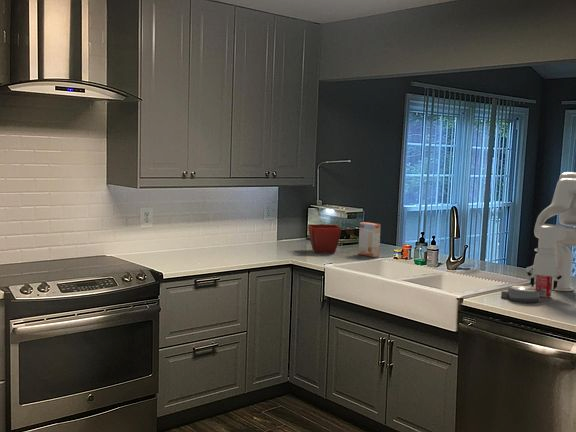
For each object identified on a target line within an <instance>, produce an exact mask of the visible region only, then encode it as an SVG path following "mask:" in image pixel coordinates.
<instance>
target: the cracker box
mask: <svg viewBox="0 0 576 432" xmlns="http://www.w3.org/2000/svg"><path fill="white" fill-rule="evenodd" d="M381 230H382V229H381V224H380V223H373V222H368V221H367V222H366V221H364V222H363V221H362V222H361V221H360V222H359V233H358V235H359V236H358V252H357V254H358V255H361V256H365V257H370V258H379V257H380V245H381Z"/></svg>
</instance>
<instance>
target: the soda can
mask: <svg viewBox="0 0 576 432" xmlns="http://www.w3.org/2000/svg"><path fill="white" fill-rule="evenodd" d="M535 277H536V281H535V288H536V289H538V290H540V298H544V299H545V298H546V299H547V298H549V297H551V296H552V291H553V290H552V277H548V276H545V275H536V276H535Z"/></svg>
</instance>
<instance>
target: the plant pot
mask: <svg viewBox="0 0 576 432" xmlns="http://www.w3.org/2000/svg"><path fill="white" fill-rule="evenodd" d="M307 227H308V236H309V239H310V240H309V241H310V245H311V248H312V251H313V252H314V253H317V254H318V253H319V254H321V253H324V254H335V253H336V250H337V247H338V244H339V240H340V237H341V234H342V233H341V232H342V227H341V226H339V225H337V224H308V226H307Z"/></svg>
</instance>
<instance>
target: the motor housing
mask: <svg viewBox="0 0 576 432" xmlns="http://www.w3.org/2000/svg"><path fill="white" fill-rule="evenodd" d="M500 298H501V299H507V300H509V301H510V302H514V303H519V304H528V305H529V304H531V305H533V304H534V305H535V304H539V303H540V298H541V297H540V290H538V289H536V287H534V286H533V287H532V286H528V285H527V286H526V285H511V286H508V287H507V290H504V289H503V290H501V296H500Z"/></svg>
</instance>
